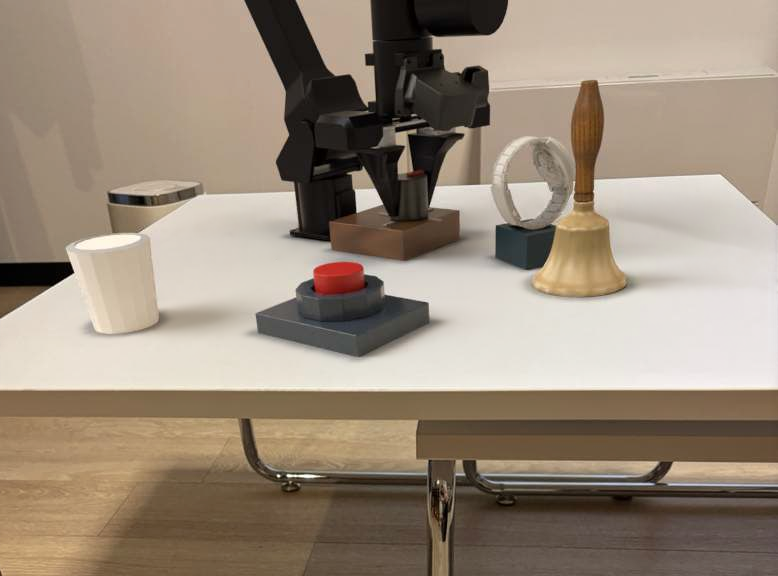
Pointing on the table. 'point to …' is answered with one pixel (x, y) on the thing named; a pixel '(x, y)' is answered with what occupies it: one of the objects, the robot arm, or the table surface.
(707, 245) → the table surface
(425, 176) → the dial
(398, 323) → the button box
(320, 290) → the button
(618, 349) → the table surface
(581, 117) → the hand bell
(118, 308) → the white cup
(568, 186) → the watch
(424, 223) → the dial panel
